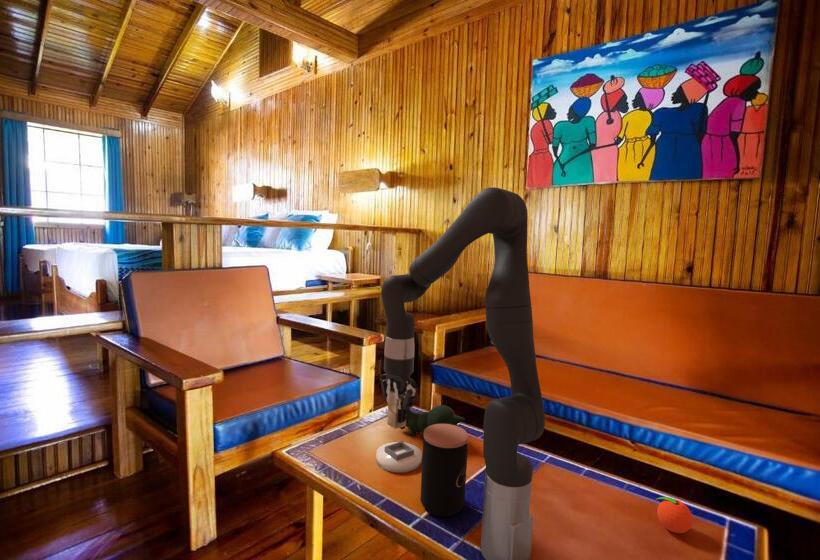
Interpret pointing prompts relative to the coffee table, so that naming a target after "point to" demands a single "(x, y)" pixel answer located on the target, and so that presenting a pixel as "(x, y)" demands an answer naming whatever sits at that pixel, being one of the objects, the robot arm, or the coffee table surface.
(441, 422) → the toy figurine
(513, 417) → the robot arm
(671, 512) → the clementine
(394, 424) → the wood grain block
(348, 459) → the coffee table surface
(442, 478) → the coffee jar
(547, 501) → the coffee table surface
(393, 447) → the candle dish
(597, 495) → the coffee table surface
